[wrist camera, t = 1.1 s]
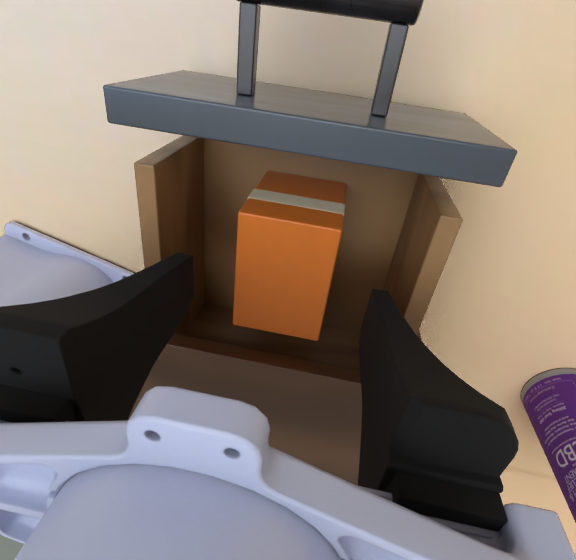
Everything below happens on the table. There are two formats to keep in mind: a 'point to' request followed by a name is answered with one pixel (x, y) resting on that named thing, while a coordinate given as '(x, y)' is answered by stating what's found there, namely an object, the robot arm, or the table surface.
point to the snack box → (287, 253)
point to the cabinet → (275, 397)
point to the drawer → (309, 163)
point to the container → (555, 424)
